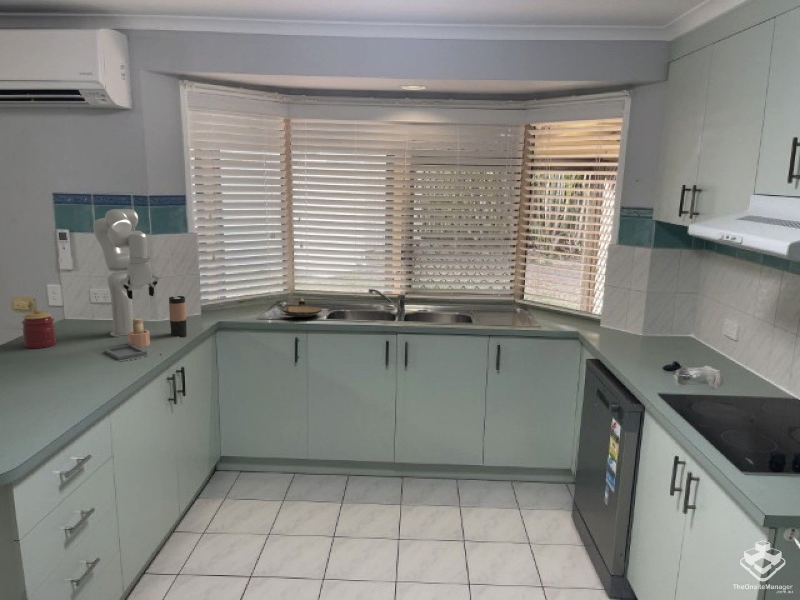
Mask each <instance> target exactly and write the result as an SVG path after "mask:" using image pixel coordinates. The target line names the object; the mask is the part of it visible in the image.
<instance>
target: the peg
mask: <svg viewBox="0 0 800 600" xmlns="http://www.w3.org/2000/svg"><path fill="white" fill-rule="evenodd" d="M144 330H145V328H144V319H143V318H134V319H133V333H134V334H143V333H144Z"/></svg>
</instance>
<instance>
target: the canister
mask: <svg viewBox="0 0 800 600" xmlns="http://www.w3.org/2000/svg"><path fill="white" fill-rule="evenodd" d="M22 318H23V320H22V321H21V324H22V325H23V326H22V327H23V328H22V334H23V335H22V336H23V344H24V348H26V347H27V348H26V349H43V347H44V348H49V347H52V346H54V345H56V343H57V337H56V329H55V328H56V326H55V325H54V321H55V318H53V317H52V313H50V312H48V311H46V310H45V311H44V310H42V311H41V309H40V308H39V307H37V308H34V310H33V311H31V312H28V313H26V314H25V315H24V316H23V317H22ZM48 346H49V347H48Z"/></svg>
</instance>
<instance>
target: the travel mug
mask: <svg viewBox="0 0 800 600" xmlns="http://www.w3.org/2000/svg"><path fill="white" fill-rule="evenodd" d="M168 303H169V304H168V305H169V306H168V307H169V324H170V325H169V326H170V336H173V337H179V338H182V337H183V338H185V337H187V336H188V335H187V332H188V331H187V311H186V308H187V307H186V297H185V296H183V295H178V296H175V297H174V296H170V297H169V298H168Z"/></svg>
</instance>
